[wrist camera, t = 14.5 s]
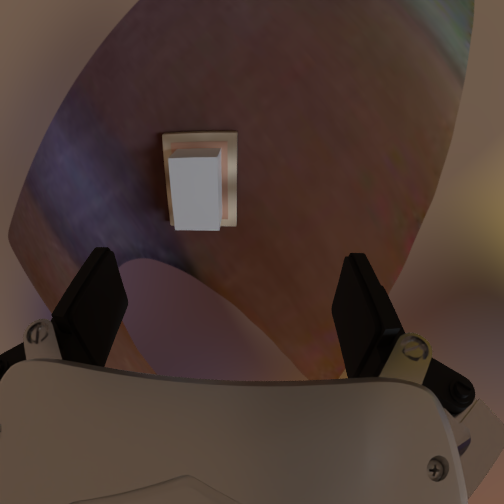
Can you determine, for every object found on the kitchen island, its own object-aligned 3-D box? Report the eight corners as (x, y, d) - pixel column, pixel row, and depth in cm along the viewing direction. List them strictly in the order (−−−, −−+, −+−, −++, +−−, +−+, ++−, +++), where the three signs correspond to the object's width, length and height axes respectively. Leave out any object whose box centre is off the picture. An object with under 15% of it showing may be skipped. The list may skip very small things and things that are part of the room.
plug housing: (176, 148, 36) (168, 158, 33) (221, 148, 36) (217, 157, 33) (181, 214, 42) (175, 230, 38) (222, 215, 42) (219, 230, 38)
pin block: (164, 132, 36) (156, 138, 33) (237, 130, 36) (235, 136, 33) (172, 221, 44) (166, 233, 41) (236, 222, 44) (235, 235, 41)
